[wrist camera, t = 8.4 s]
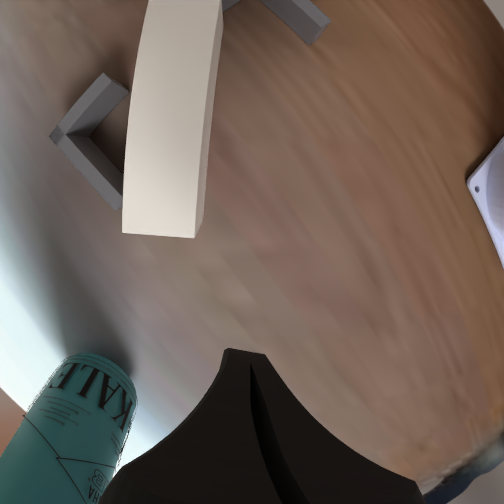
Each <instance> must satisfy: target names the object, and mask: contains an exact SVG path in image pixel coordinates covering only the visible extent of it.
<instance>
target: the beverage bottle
mask: <svg viewBox="0 0 504 504" xmlns="http://www.w3.org/2000/svg"><path fill="white" fill-rule="evenodd" d="M67 358H68V357H67ZM63 362H64V363H63ZM63 362H62V363H63V364H62V365H60V366H61V367H60V366H59V367H60V368H59V369H57V368H56V369H57V370H58V371H57V370H56V373H54V372H53V373H54V374H55V375H54V374H52V375H54V376H53V378H52V377H51V378H49V379H51V380H50V382H49V381H48V382H49V383H48V385H47V386H46V385H45V389H44V387H43V389H44V390H43V389H42V390H43V391H42V393H41V392H40V393H41V394H40V396H39V395H38V396H39V397H38V396H37V395H36V397H38V399H37V400H36V399H35V398H36V397H35V398H34V399H35V400H36V401H35V403H34V402H33V401H32V402H33V403H34V404H33V403H32V404H33V406H32V407H31V406H30V407H31V409H30V410H29V408H27V409H28V410H29V412H28V413H27V412H26V413H27V415H26V416H25V415H23V417H25V418H24V419H23V421H22V423H21V425H20V427H19V428H18V430H17V431H16V433H15V435H14V436H13V438H12V440H11V441H10V442H9V444H8V446H7V447H6V449H5V450H4V452H3V454H2V455H1V457H0V504H98V502H99V500H100V498H101V496H102V494H103V492H104V490H105V489H106V487H107V486H108V484H109V483H110V482H111V479H112V476H113V473H114V470H115V473H116V463H117V460H118V459H119V458H118V457H119V454H120V453H121V454H120V456H122V450H123V448H124V445H125V443H124V445H123V442H124V439H125V436H126V433H127V432H128V435H129V431H130V430H128V428H130V427H131V426H129V424H130V425H131V423H130V421H132V420H131V418H132V415H133V412H134V410H135V406H136V397H137V396H136V390H135V387H134V384H133V382H132V381H131V379H130V378H129V376H128V375H127V374H126V373H125V372H124V371H123V370H122V369H121V368H120V367H119V366H118V365H116V364H115V363H114V362H112V361H110V360H109V359H107V358H105V357H102V356H99V355H96V354H92V353H79V354H76V355H73V356H70V358H68V359H67V360H66V361H63ZM52 375H51V376H52ZM46 383H47V382H46ZM40 391H41V390H40ZM137 406H138V400H137ZM134 415H135V414H134ZM127 438H128V436H127ZM127 438H126V440H127ZM125 442H126V441H125ZM122 445H123V447H122ZM121 449H122V450H121ZM120 451H121V452H120ZM120 460H121V458H120ZM120 460H119V461H118V462H120ZM118 466H119V464H118ZM118 466H117V467H118Z"/></svg>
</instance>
